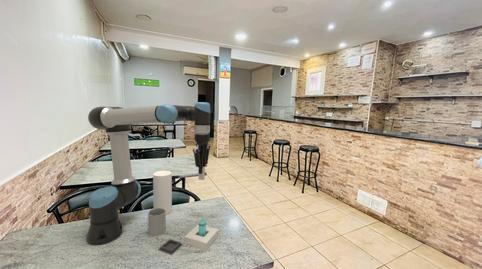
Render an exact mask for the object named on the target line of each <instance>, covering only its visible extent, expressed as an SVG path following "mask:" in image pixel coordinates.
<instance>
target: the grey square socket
mask: <svg viewBox="0 0 482 269" xmlns="http://www.w3.org/2000/svg"><path fill="white" fill-rule="evenodd" d="M183 245H184V244H183V243H182V242H180V241H177V240H174V239H172V238H169V239H168V240H167V241H165V243H163V244H162V245H160V247H159V248H158V249H157V251H159V252H162V253H164V254H167V255H170V256H173V255H174V254H175V253H176V252H177V251H178V250H179V249H180V248H182V246H183Z"/></svg>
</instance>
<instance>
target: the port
mask: <svg viewBox="0 0 482 269" xmlns="http://www.w3.org/2000/svg"><path fill="white" fill-rule="evenodd" d="M219 231H220V230H219V229H218V228H214V227H211V226H208V225H206V235H205V236H204V237H202V236H199V223H198V224H197V225H196V226H195V227H194V228H193V229H191V230H190V231H189V232H188V233H187V234H186V235H185V236H184V244H186V245H187V246H192V247H195V248H197V249H201V250H204V251H207V250H208V249H209V248H210V246H211V245H212V244H213V243H214V241H216V239H218V237H219V234H220V233H219Z"/></svg>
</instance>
